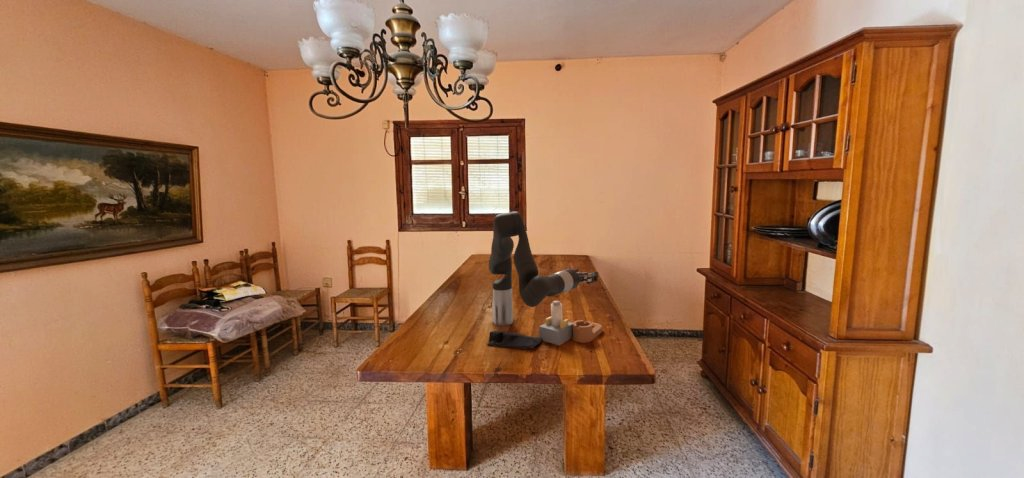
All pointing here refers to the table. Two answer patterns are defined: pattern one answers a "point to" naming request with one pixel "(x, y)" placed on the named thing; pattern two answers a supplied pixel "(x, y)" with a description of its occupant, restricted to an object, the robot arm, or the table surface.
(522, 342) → the dark slate chunk
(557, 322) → the white bottle
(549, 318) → the block
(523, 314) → the table surface
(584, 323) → the bracket
